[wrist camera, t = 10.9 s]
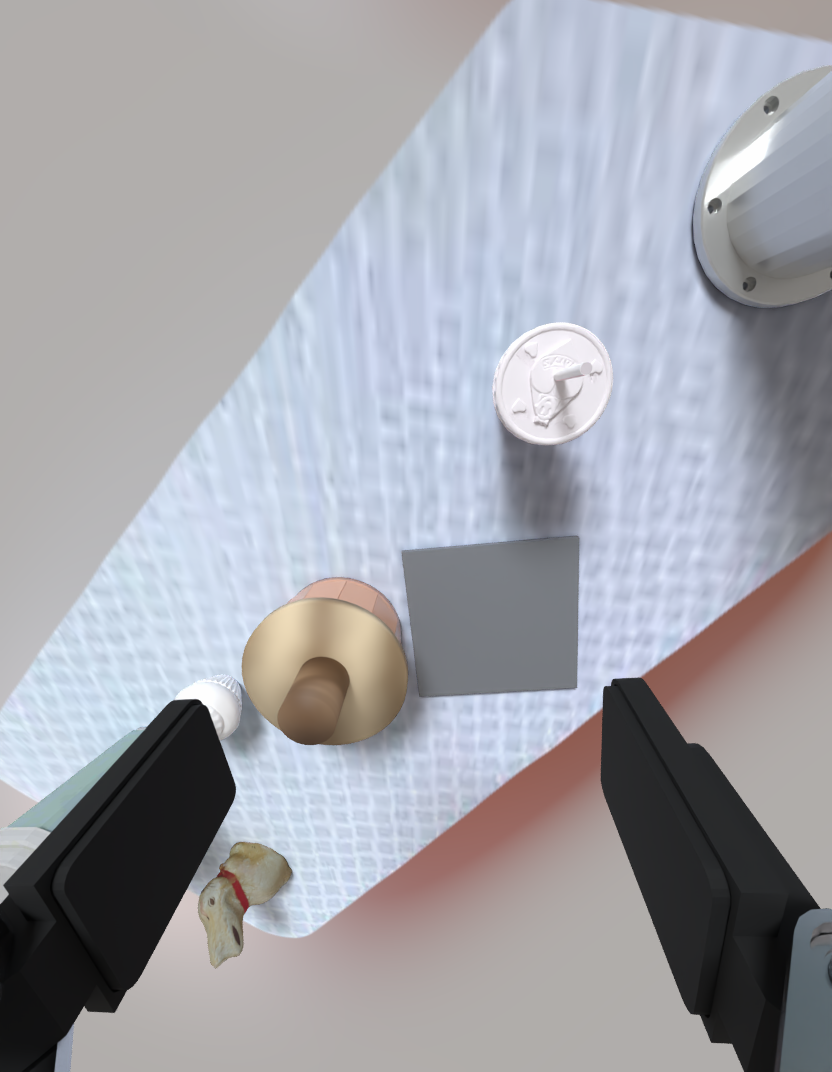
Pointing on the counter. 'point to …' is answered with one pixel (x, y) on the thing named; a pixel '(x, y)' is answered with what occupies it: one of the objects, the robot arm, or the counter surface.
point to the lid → (325, 671)
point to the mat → (494, 616)
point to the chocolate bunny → (238, 895)
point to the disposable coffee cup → (53, 811)
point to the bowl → (354, 598)
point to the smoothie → (552, 384)
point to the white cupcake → (218, 701)
